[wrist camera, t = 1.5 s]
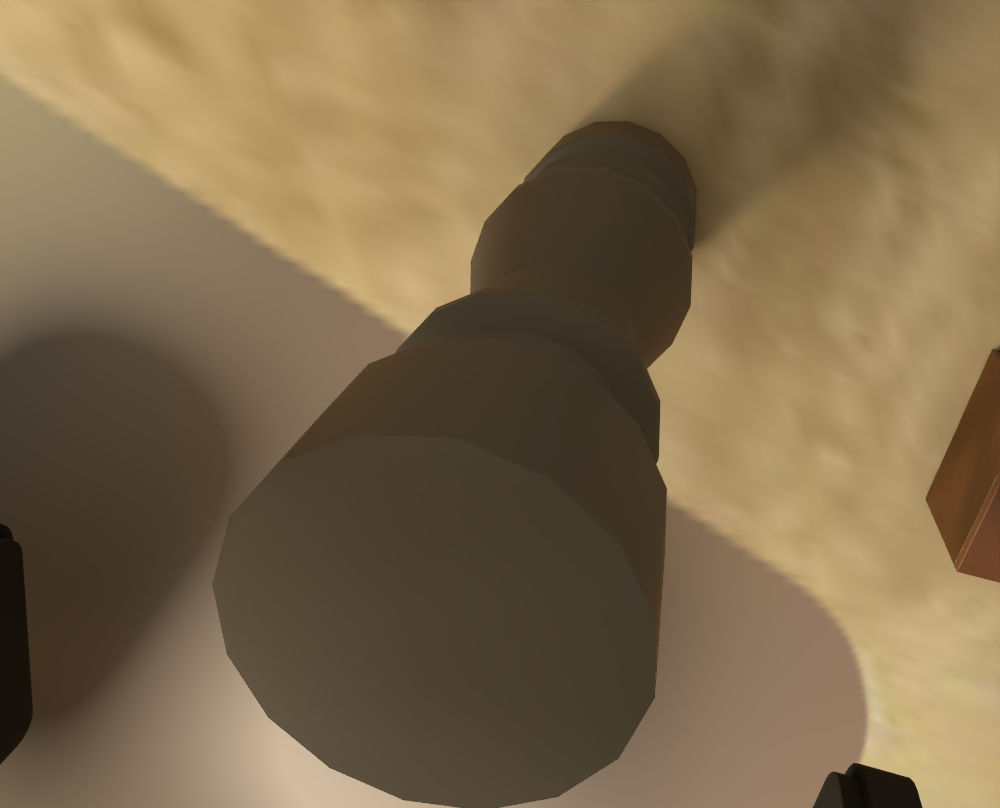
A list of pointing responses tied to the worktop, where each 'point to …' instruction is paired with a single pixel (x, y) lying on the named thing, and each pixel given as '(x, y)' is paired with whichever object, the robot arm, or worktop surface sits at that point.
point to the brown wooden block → (973, 482)
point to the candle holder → (485, 506)
